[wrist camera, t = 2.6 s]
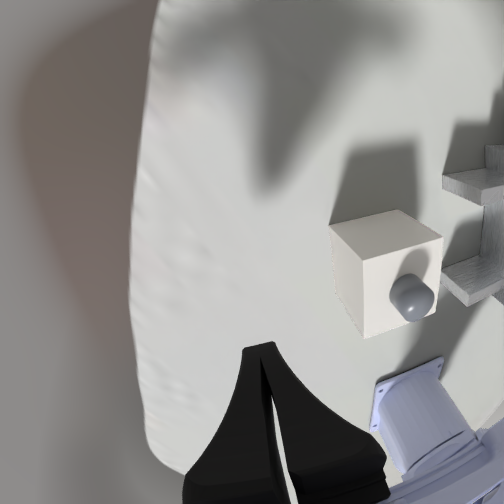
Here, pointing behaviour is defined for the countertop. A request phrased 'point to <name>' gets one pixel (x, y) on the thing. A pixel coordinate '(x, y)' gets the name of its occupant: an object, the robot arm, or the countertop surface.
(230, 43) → the countertop surface
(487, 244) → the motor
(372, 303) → the white block
